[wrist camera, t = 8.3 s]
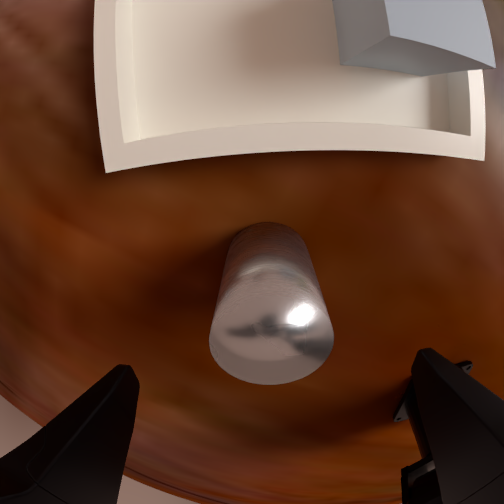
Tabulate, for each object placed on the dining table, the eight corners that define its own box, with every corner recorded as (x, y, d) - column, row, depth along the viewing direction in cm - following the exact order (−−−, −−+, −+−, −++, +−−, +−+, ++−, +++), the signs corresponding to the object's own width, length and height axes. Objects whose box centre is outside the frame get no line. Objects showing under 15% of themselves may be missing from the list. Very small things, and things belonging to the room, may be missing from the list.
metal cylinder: (307, 291, 15) (327, 379, 10) (231, 296, 15) (219, 385, 10) (308, 219, 13) (339, 290, 8) (222, 224, 14) (198, 298, 8)
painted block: (422, 76, 9) (495, 68, 5) (340, 64, 9) (390, 35, 5) (411, 2, 8) (471, -31, 3) (329, -13, 8) (364, -70, 3)
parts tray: (454, 151, 11) (484, 160, 9) (130, 162, 12) (105, 173, 10) (430, -31, 7) (452, -45, 4) (121, -31, 7) (100, -49, 5)
